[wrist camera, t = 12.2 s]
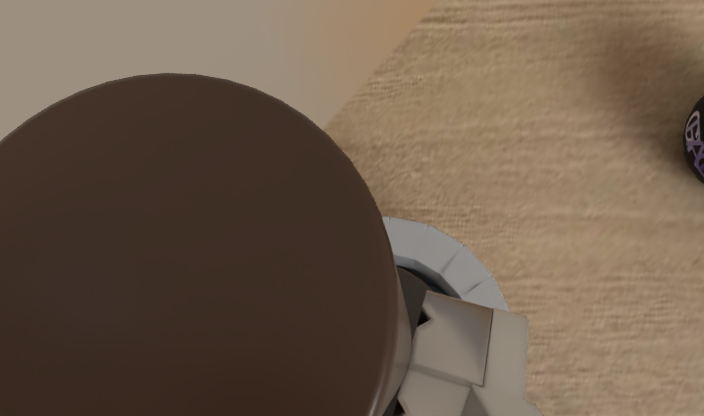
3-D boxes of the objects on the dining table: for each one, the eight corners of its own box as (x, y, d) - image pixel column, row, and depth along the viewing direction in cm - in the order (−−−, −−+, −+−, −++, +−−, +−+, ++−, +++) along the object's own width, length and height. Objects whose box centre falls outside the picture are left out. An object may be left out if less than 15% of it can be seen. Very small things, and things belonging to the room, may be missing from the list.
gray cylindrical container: (280, 376, 32) (201, 389, 20) (366, 235, 33) (338, 172, 21) (424, 472, 30) (429, 547, 18) (509, 319, 31) (564, 300, 20)
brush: (285, 370, 18) (-464, 461, 3) (355, 256, 19) (64, -205, 3) (402, 447, 17) (274, 1204, 2) (471, 324, 18) (803, 136, 2)
